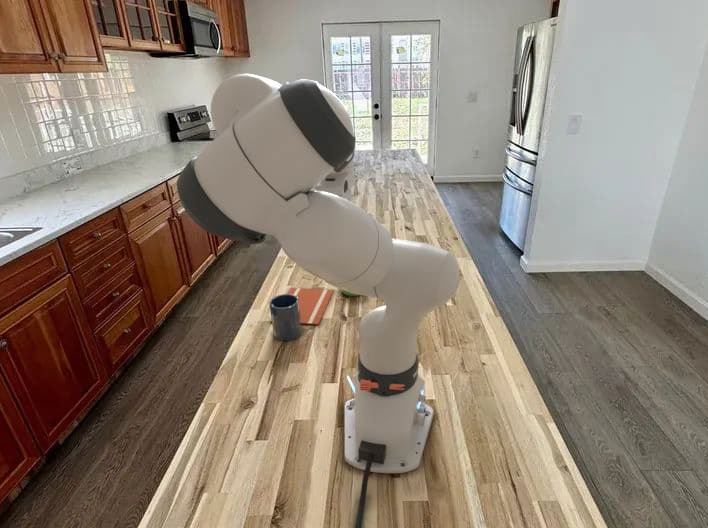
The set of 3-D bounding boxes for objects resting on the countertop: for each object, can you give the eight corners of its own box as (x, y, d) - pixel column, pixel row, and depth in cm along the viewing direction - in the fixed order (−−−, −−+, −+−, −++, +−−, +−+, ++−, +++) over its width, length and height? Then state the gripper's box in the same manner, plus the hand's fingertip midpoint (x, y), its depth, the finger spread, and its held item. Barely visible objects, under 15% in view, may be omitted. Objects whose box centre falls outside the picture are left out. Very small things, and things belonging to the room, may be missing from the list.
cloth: (318, 325, 123) (318, 323, 122) (270, 322, 124) (270, 321, 124) (333, 291, 140) (333, 289, 140) (291, 289, 142) (291, 288, 142)
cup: (297, 341, 116) (293, 309, 111) (270, 340, 117) (265, 307, 112) (305, 325, 122) (301, 294, 118) (278, 324, 123) (274, 293, 119)
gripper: (330, 167, 110) (334, 219, 116) (312, 190, 91) (318, 250, 97) (355, 167, 109) (358, 219, 115) (341, 190, 91) (345, 250, 97)
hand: (339, 233), depth 106 cm, fingers closed
